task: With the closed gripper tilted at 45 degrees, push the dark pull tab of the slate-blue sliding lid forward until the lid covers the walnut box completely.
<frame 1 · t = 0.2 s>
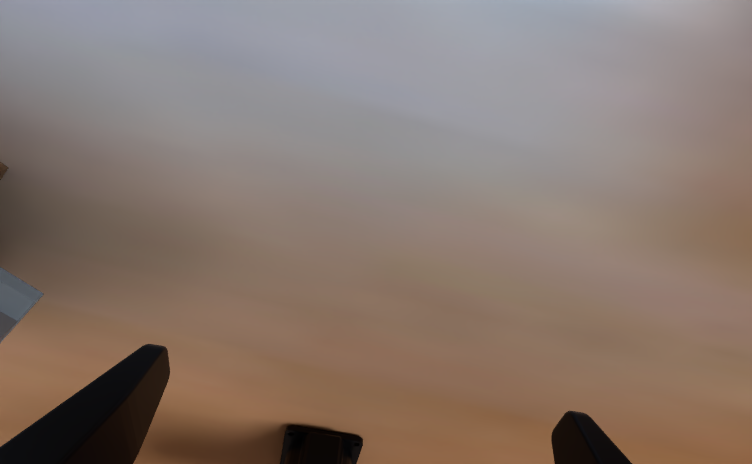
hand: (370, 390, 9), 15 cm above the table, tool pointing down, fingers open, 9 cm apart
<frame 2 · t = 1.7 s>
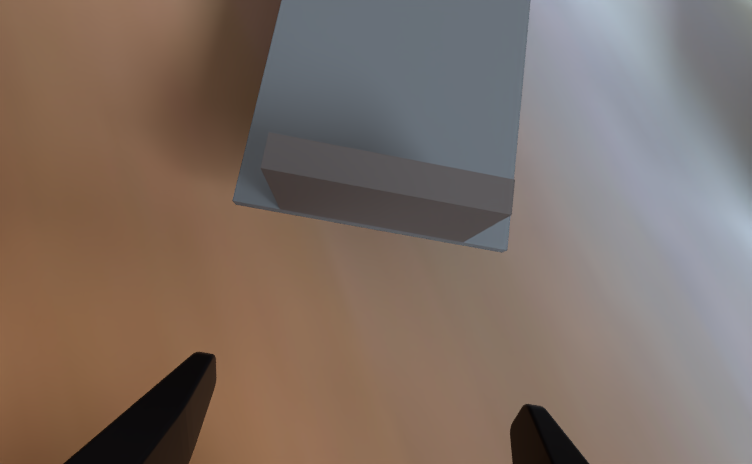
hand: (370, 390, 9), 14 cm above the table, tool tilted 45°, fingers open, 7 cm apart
lid: (405, 52, 17), point 8 cm above the table, slide at -6.0 cm
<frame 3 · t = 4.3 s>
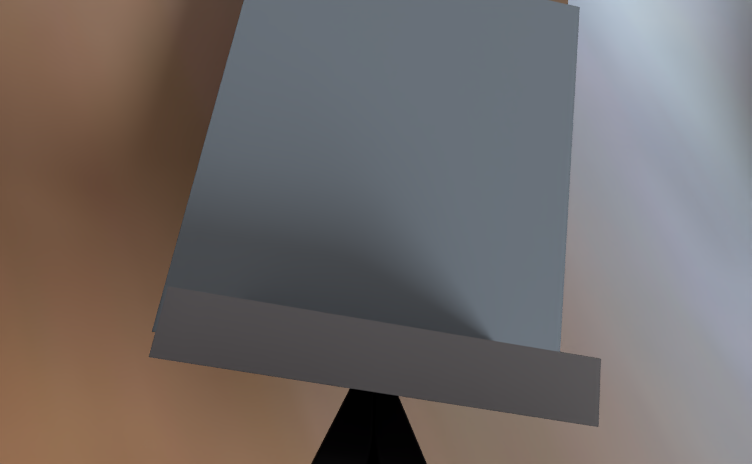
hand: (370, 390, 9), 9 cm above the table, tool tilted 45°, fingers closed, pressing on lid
lid: (409, 113, 12), point 8 cm above the table, slide at -4.4 cm, touching gripper
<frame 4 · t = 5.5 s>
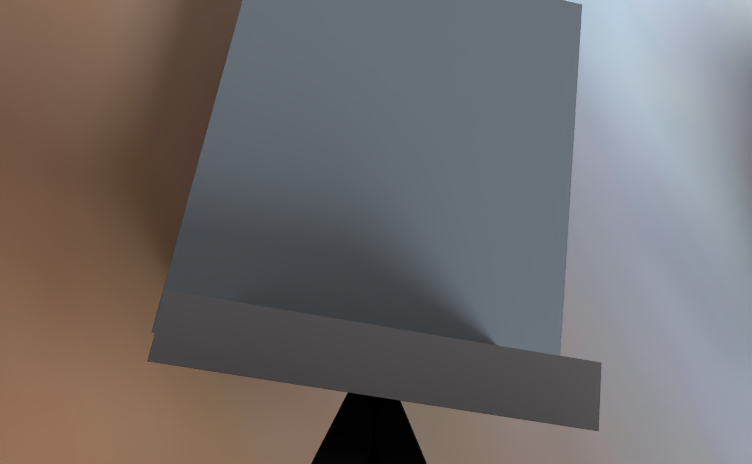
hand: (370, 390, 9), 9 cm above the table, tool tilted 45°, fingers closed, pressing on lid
lid: (409, 113, 11), point 8 cm above the table, slide at 0.4 cm, touching gripper
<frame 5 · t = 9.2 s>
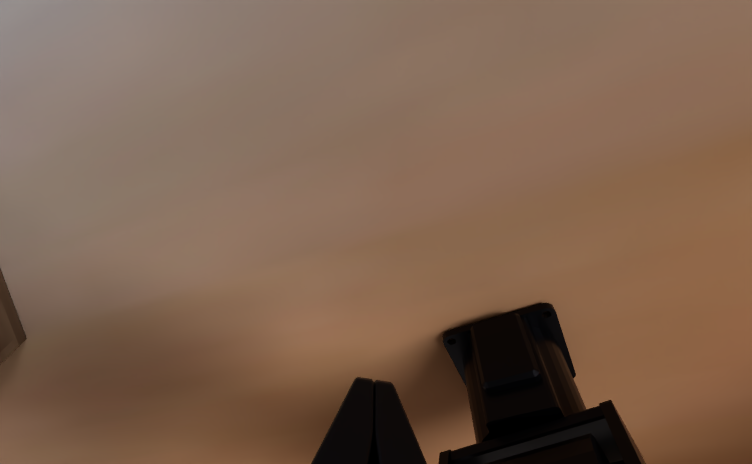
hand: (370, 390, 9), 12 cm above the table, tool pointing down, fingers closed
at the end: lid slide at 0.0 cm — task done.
